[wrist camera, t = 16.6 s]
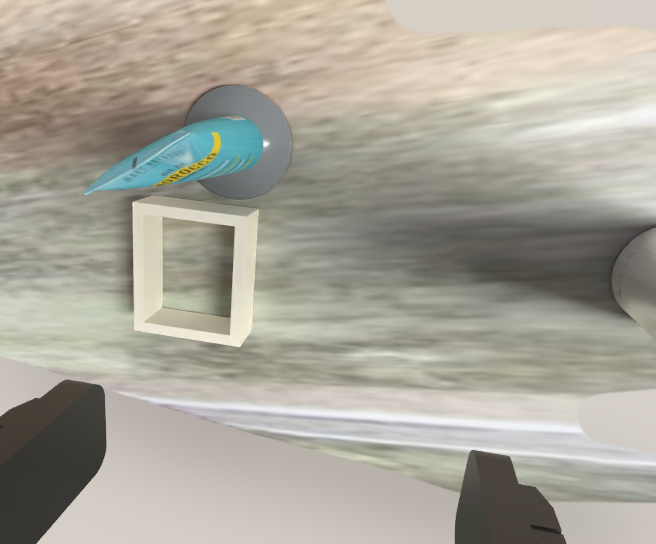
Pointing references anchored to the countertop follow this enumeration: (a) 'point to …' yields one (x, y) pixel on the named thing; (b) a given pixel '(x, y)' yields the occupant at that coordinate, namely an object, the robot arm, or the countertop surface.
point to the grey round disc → (271, 129)
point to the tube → (188, 155)
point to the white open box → (151, 270)
